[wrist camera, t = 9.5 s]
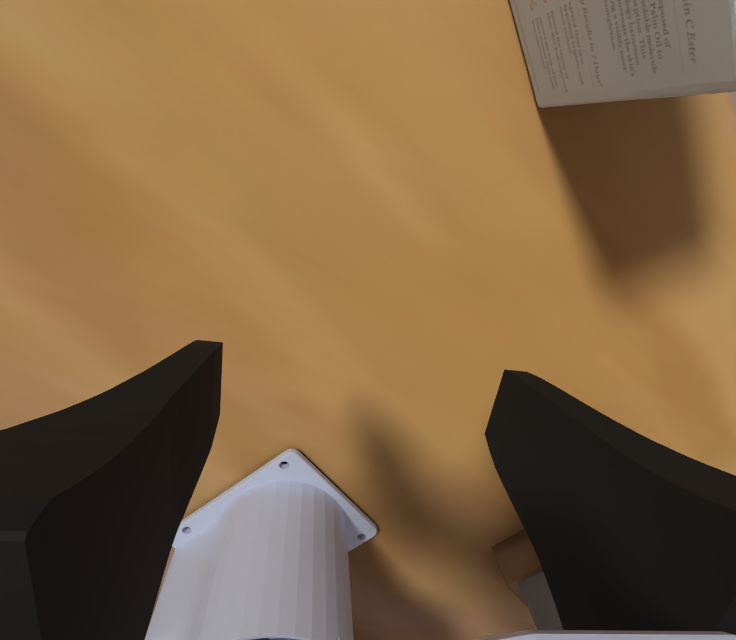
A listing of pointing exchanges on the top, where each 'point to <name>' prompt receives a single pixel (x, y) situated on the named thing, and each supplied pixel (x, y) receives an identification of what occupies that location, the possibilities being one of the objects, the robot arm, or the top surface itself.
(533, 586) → the top block
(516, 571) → the base block
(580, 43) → the small box
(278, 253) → the top surface
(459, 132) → the top surface
